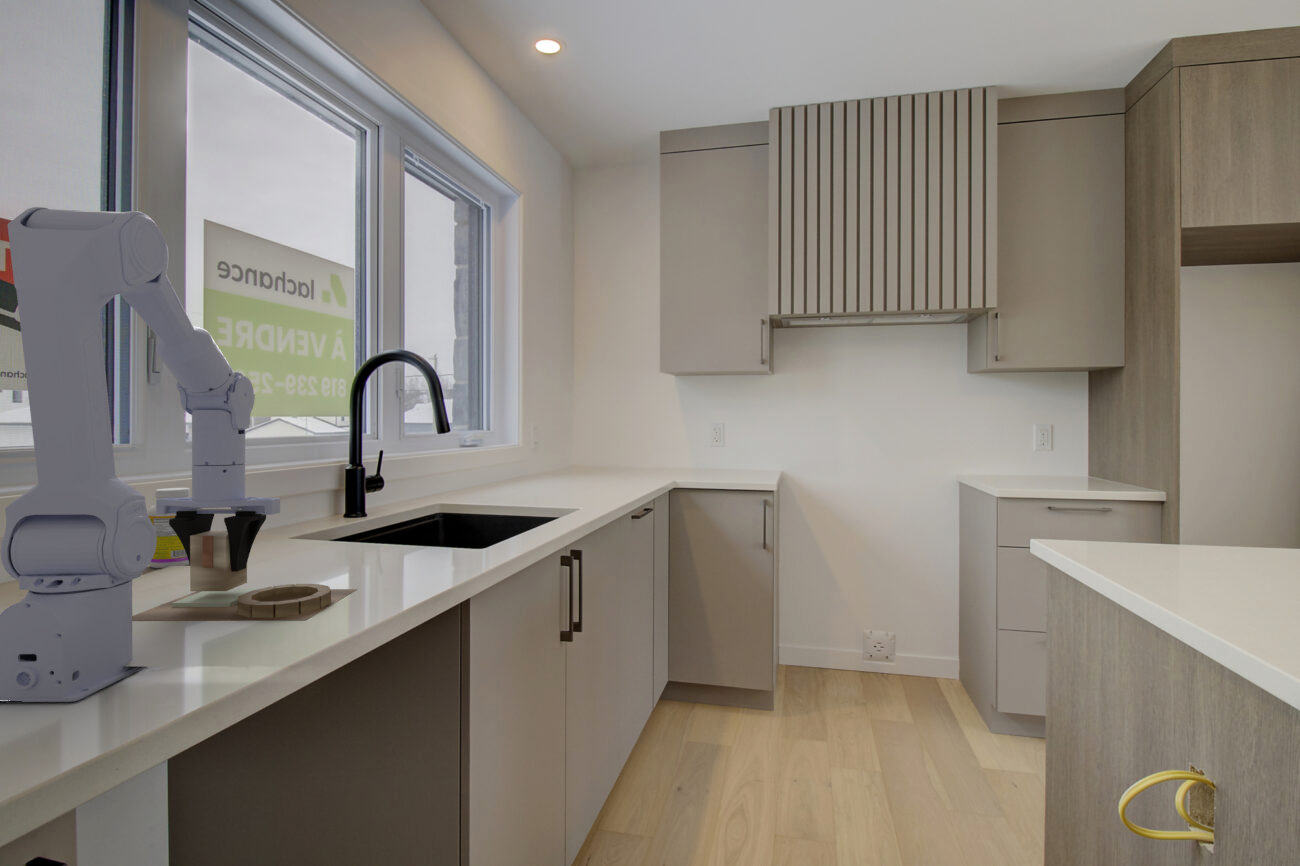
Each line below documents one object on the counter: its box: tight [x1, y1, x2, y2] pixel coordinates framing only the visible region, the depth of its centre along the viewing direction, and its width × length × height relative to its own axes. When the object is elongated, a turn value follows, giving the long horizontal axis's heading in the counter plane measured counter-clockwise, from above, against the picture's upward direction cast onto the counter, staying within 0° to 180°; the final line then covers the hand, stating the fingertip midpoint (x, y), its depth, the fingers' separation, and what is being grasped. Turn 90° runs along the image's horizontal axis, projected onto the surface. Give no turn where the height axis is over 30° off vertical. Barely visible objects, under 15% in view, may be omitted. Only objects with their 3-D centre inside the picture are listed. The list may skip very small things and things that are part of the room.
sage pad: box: [172, 587, 262, 607], centre depth 83 cm, size 7×7×1 cm
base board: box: [132, 583, 358, 622], centre depth 81 cm, size 14×21×3 cm, turn 92°
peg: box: [189, 529, 248, 592], centre depth 83 cm, size 4×4×7 cm
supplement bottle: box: [147, 487, 191, 569], centre depth 108 cm, size 7×7×13 cm
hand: (219, 569), depth 83 cm, fingers closed on peg, 4 cm apart
